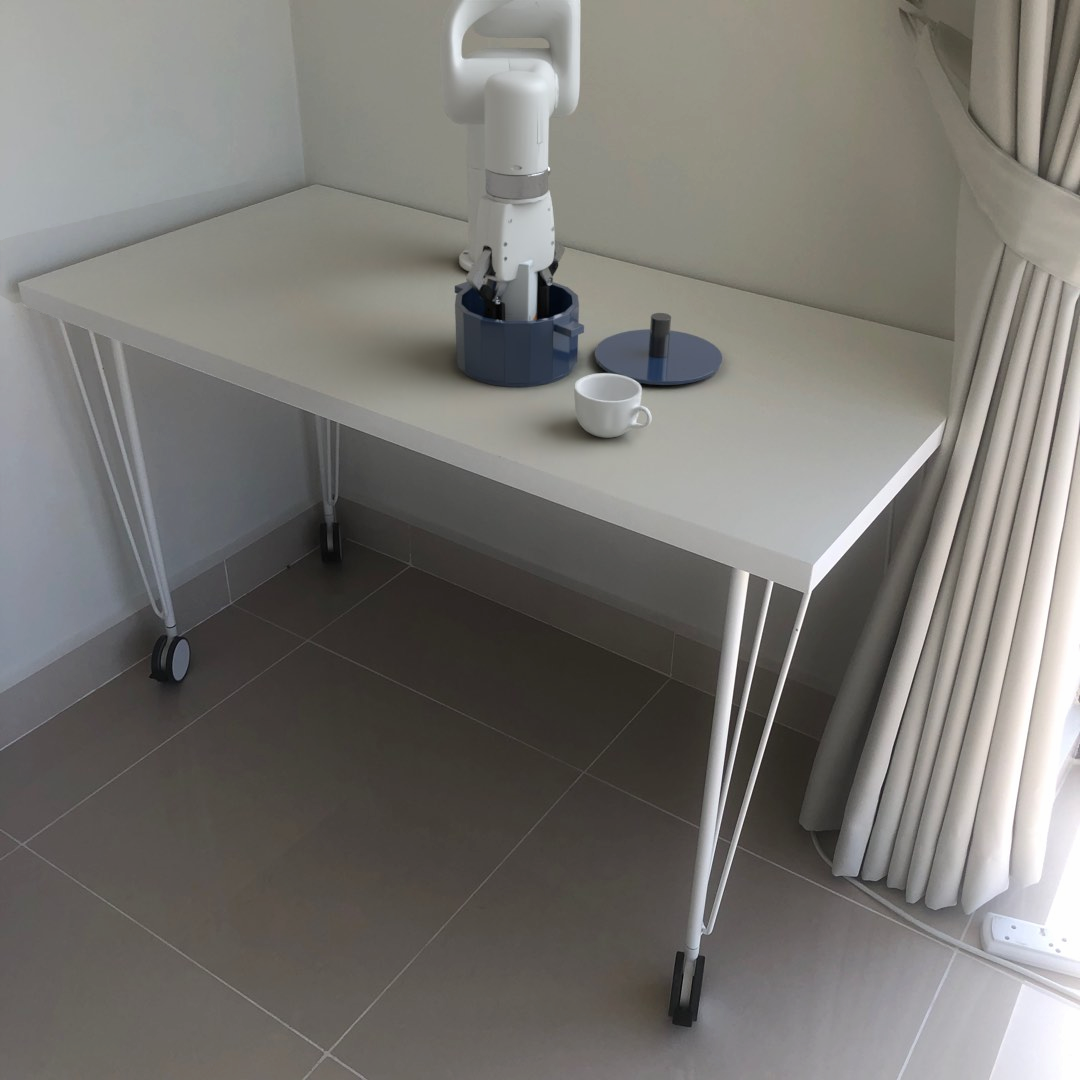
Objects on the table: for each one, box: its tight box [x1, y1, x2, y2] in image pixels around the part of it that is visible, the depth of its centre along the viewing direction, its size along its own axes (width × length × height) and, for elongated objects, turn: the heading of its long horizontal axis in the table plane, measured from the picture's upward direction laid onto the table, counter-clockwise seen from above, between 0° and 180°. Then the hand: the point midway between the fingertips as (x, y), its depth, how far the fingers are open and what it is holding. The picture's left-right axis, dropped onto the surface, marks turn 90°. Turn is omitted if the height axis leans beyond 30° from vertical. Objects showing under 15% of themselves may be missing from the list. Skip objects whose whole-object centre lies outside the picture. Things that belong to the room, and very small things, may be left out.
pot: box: [454, 280, 585, 388], centre depth 150 cm, size 16×21×8 cm
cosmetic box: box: [497, 260, 538, 321], centre depth 148 cm, size 6×4×12 cm
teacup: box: [573, 372, 653, 439], centre depth 135 cm, size 10×8×5 cm
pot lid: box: [594, 312, 723, 386], centre depth 151 cm, size 17×17×6 cm
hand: (517, 320), depth 150 cm, fingers closed on cosmetic box, 7 cm apart
